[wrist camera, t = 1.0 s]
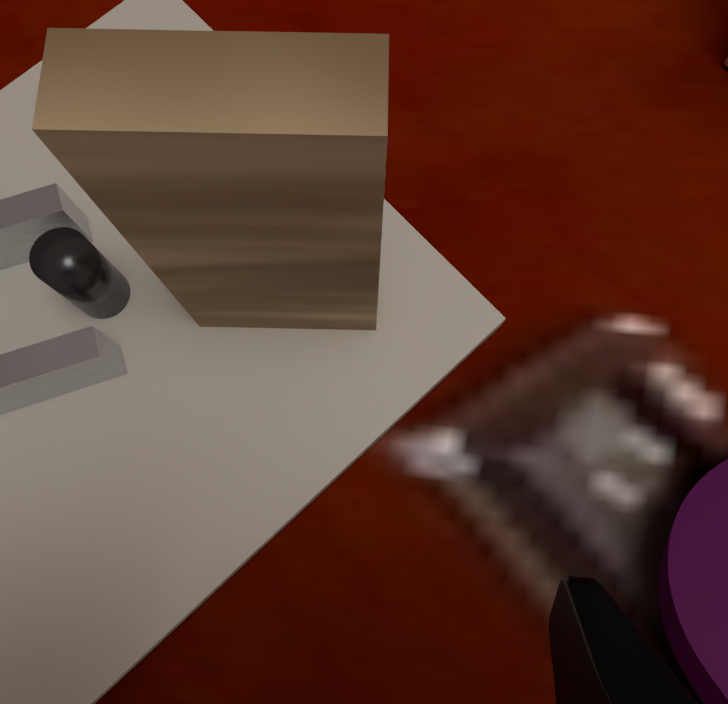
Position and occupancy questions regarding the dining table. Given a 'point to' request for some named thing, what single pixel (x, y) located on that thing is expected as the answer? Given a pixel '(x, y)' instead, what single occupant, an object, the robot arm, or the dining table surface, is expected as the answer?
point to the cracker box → (726, 62)
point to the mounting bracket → (699, 586)
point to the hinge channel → (71, 280)
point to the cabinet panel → (182, 429)
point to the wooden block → (232, 163)
